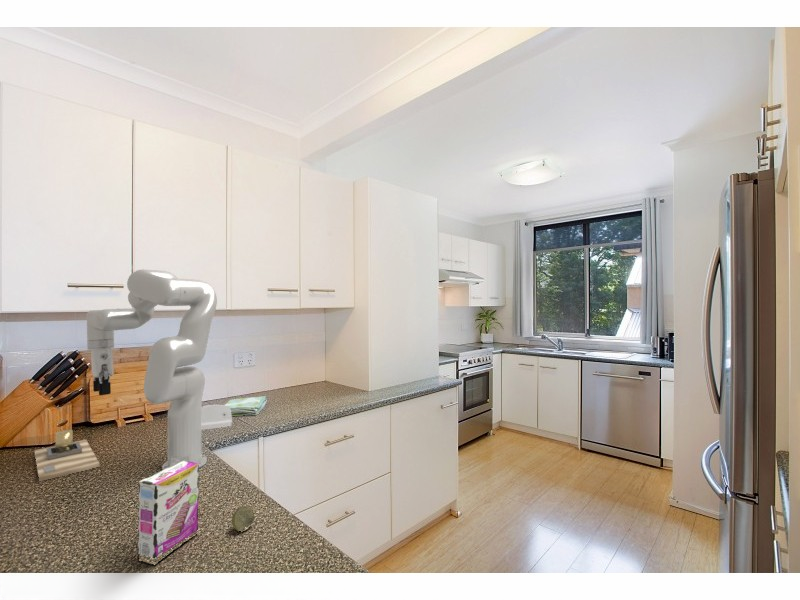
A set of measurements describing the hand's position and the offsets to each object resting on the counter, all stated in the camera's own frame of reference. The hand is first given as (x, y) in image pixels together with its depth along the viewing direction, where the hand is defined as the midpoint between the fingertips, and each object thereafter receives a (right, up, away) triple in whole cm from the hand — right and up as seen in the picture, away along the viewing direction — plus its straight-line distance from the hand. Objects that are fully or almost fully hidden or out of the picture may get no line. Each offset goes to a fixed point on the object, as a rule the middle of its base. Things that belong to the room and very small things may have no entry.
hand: (101, 392), depth 136 cm
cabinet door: (-6, -21, -8) cm, 23 cm away
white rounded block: (+26, -21, +26) cm, 42 cm away
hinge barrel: (-8, -19, -6) cm, 22 cm away
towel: (+30, -21, +50) cm, 62 cm away
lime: (+70, -20, -48) cm, 87 cm away
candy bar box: (+57, -20, -54) cm, 81 cm away
